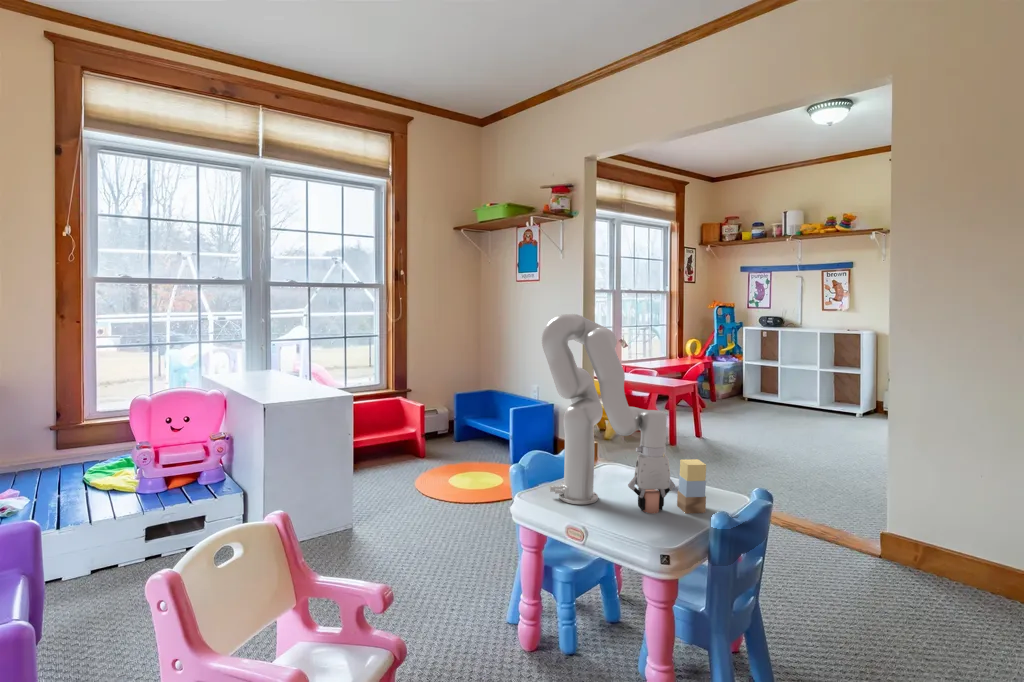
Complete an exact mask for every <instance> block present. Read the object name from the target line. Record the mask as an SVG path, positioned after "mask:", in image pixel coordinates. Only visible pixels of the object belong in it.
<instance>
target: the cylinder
mask: <svg viewBox="0 0 1024 682" xmlns="http://www.w3.org/2000/svg"><path fill="white" fill-rule="evenodd" d="M659 496H660V492H659V491H658V489H652V490H645V493H644V498H645V510H644V511H643V512H644V513H646V512H647V514H658V513H659V512H660V510H659Z"/></svg>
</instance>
